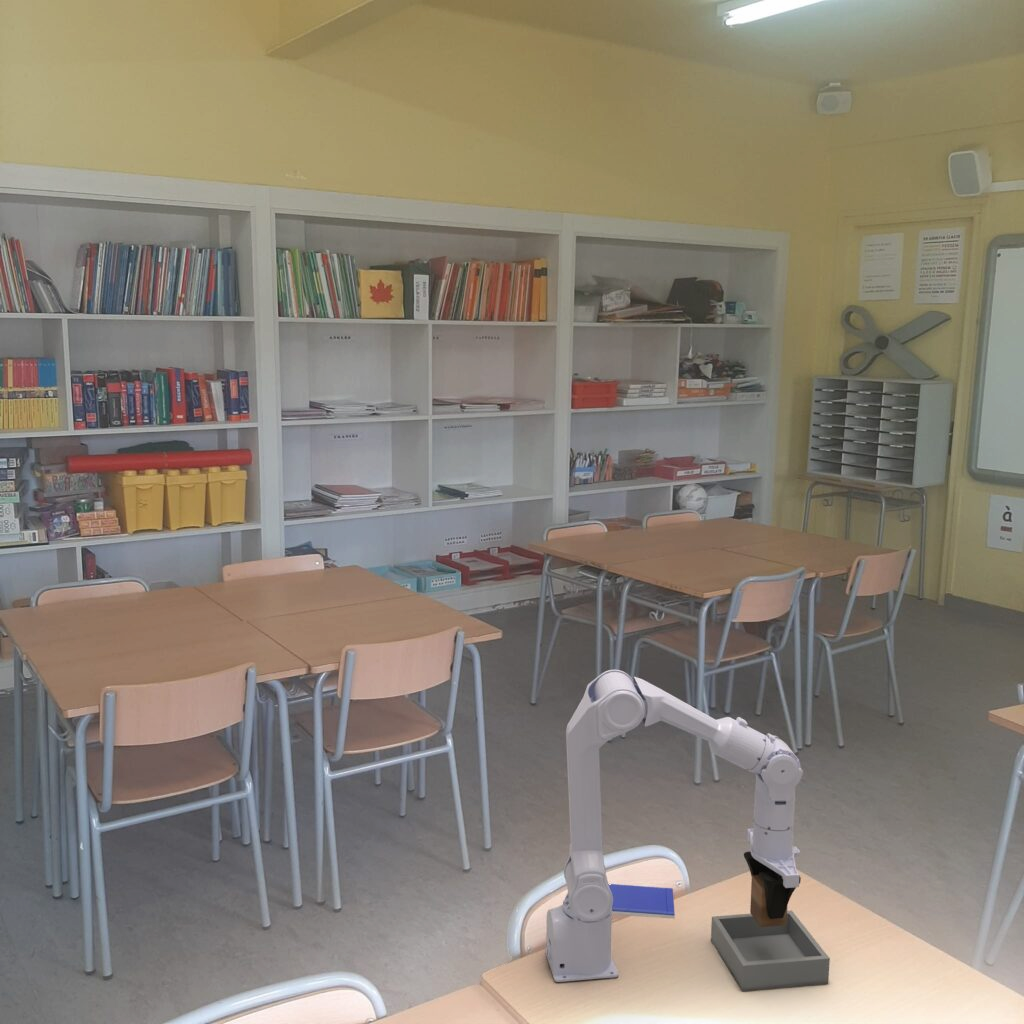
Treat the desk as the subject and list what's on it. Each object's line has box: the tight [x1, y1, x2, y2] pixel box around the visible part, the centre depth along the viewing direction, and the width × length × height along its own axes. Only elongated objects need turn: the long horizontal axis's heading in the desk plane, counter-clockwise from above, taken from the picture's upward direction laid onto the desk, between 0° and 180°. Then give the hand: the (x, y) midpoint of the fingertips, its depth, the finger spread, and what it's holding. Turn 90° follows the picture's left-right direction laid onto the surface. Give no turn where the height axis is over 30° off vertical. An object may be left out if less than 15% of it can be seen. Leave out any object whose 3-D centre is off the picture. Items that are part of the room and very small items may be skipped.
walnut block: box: [749, 875, 788, 927], centre depth 150 cm, size 4×4×6 cm
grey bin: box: [710, 910, 831, 993], centre depth 151 cm, size 13×13×4 cm
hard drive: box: [609, 883, 676, 919], centre depth 168 cm, size 2×8×12 cm
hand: (769, 909), depth 150 cm, fingers closed on walnut block, 4 cm apart
